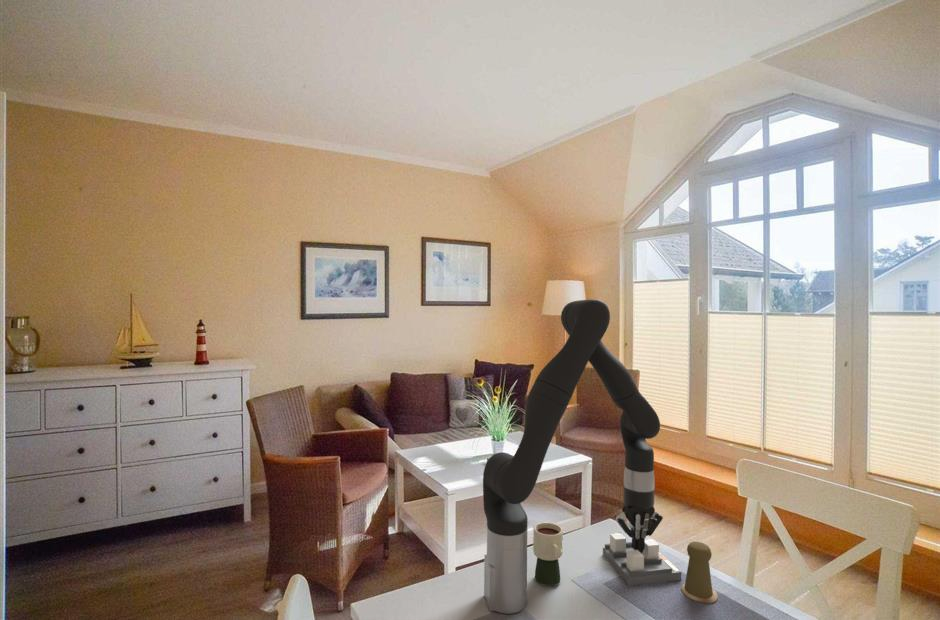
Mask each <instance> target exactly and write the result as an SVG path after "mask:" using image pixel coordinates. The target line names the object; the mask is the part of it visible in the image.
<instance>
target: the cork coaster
mask: <svg viewBox="0 0 940 620" xmlns="http://www.w3.org/2000/svg"><path fill="white" fill-rule="evenodd" d="M712 591H713V595H712V597H710V598H698V597H695V596H693V595H691V594H689V593H688V592H687V591H686V590H685V582H684V583H683V584H682V586H681V592H682V593H683V595H685V596H686V597H687V598H688V599H690V600H693V601H694V602H697V603H702V604H712V603H713V604H714V603H716V602H717V601H718V592H717V591H716V590H715V589H714V588H713V587H712Z"/></svg>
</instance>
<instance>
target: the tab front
mask: <svg viewBox="0 0 940 620" xmlns="http://www.w3.org/2000/svg"><path fill="white" fill-rule="evenodd" d="M626 567H627V568H628V569H629V570H630V571H639V570H644V556H643V555H642V554H641V553H640V552H639V551H638V550H631V551H627V562H626Z"/></svg>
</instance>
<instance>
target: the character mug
mask: <svg viewBox="0 0 940 620" xmlns="http://www.w3.org/2000/svg"><path fill="white" fill-rule="evenodd" d="M563 530H564V529H563V527H562V526H560V525H559V524H557V523H554V522H549V521H548V522H547V521H545V522H538V523H536V524H535V525H534V526H533V538H532V539H533V541H532V543H533V545H532V550H533V555H534V556H535V557H536V564H535V570H534V571H535V572H534V580H535V581H536V582H537V583H538V584H540V585H545V586H557V585H559V584H560V583H561V568H560V563H559V559H560V558H561V557H562V556H563V553H564V552H563V540H564V534H563V533H564V531H563Z"/></svg>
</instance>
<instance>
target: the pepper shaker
mask: <svg viewBox="0 0 940 620" xmlns="http://www.w3.org/2000/svg"><path fill="white" fill-rule="evenodd" d="M686 552H687V555H688V557H689V558H688V563H687V571H686V577H685V581H684V583H685V590H686V591H687V592H688V593H689V594H691V595H693V596H695V597H698V598H710V597H712V595H713V591H712V588H713V586H712V585H713V584H712V576H711V569H710V561H711V559H712V550H711V548H710V547H709V545H708V544H705V543H703V542H701V541H691V542H689V544H687V547H686Z"/></svg>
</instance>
